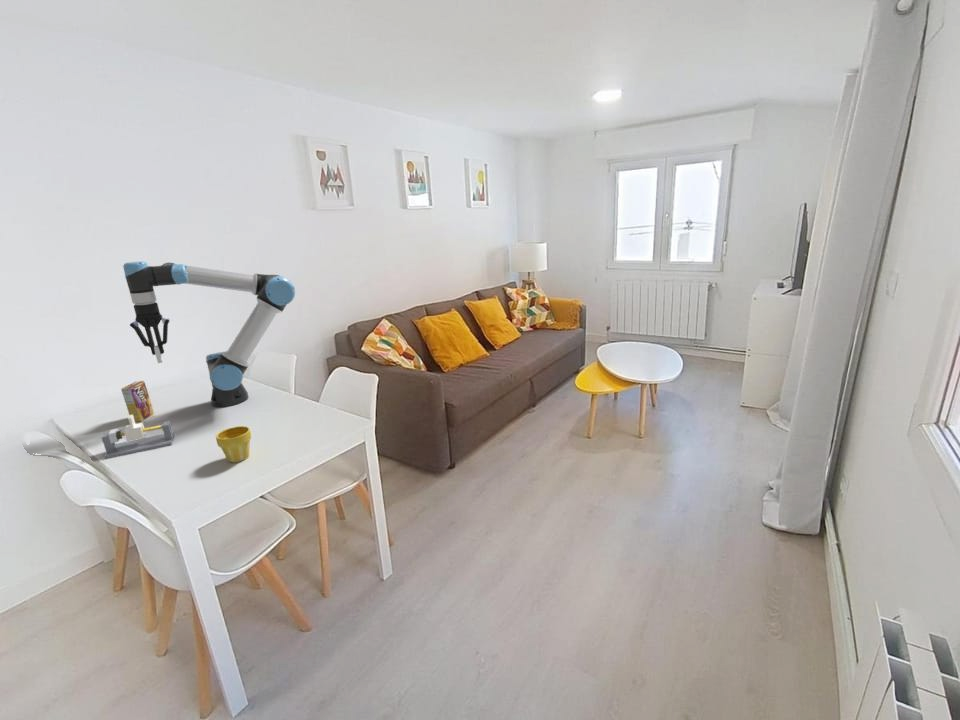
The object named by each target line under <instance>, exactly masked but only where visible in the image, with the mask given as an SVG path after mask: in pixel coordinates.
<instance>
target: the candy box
mask: <svg viewBox="0 0 960 720" xmlns="http://www.w3.org/2000/svg"><path fill="white" fill-rule="evenodd" d="M146 385H147V384H146V382H145V381H144V380H140V381H139V380H137V381H134V382H131V383H130V384H128V385H126V386H124V387H122V388H121V393H122V397H123V399H124V402H125V406H126V409H127V411H128V414H129V416H130V415H133V417H134V420H135V423H142V422H143V421H145V420H146V419H147V418H149V417H150V416H152V415H153V414H154V413H155V411H154V408H153V404H152V401H151V398H150V396H149V392H148V388H147V386H146Z"/></svg>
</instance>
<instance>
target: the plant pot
mask: <svg viewBox="0 0 960 720" xmlns="http://www.w3.org/2000/svg"><path fill="white" fill-rule="evenodd" d="M251 439H252V433H251V429H250V427H248V426H246V425H245V426H244V425H241V426H233V427H228V428H226V429H223V430H221V431H219V432H218V433H217V434H216V435H215V440H216V444H217V447H219V448H220V449H221V451H222V452H223V454H224V455H225V458H226V460H227V461H228V462H230V463H240V462H243V461H245V460H247V459H248V458H249V457H250V442H251Z"/></svg>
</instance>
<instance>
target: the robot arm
mask: <svg viewBox="0 0 960 720" xmlns="http://www.w3.org/2000/svg"><path fill="white" fill-rule="evenodd" d="M123 273H124V276H125V280H126V284H127V286H128V287H127V288H128V291H129V294H130V298H131V303H132V304H133V309H134V312H135V319H134V321H133V322H131V323H130V324H129V326H130V327H131V329H133V330H134V331H135V333H136V335H137V336H138V338H139V339H140V341H141V343H142V344H143V346H144V347H148V348H150V351H151V354H152V356H155V358H156V361H157V364H162V363H163V362H164V358H163V354H164V353H165V350H164V345H166V344H167V343H168V336H169V335H168V329H169V326H168V325H169V323H170V321H171V320H170V318H166V317H163V315H162V314H161V312H160V309H159V304H158V302H157V298H156V293H155V290H154V287H160V286H162V287H163V286H170V285H171V286H172V285H173V286H174V285H178V286H179V285H183V284H185V285H192V286H193V285H194V286H200V287H209V288H216V289H224V290H232V291H237V292H238V291H239V292H245V293H251V294H252V295H253V296H256V301H257V303H256V305H255V307H254V308H253V309H252V311H251V313H250V314H249V316H248V317H247V320H246V321H245V322H244V323H243V326H242V327H241V329H240V331H239V332H238V334H237V335H236V337H235V338H234V340H233V342H231V345H230V346H229V347H228V349H227V351H219V352H214V353H209V354H207V355H206V357H205V360H206V361H205V363H206V365H207V368H208V369H207V370H208V373H209V381H210V382H211V386H212V390H211V397H210V401H211V405H212V406H213V407H216V408H219V407H220V408H225V407H230V406H234V405H238V404H241V403H243V402H245V401H247V400H248V399H249V392H248V391H247V389H246V388H245V386H244V385H243V380H244V379H243V378H244V375H245V372H246V371H247V369H248V368H249V362H248V361H249V359H250V357H251V356H252V354H253V352H254V351H255V350H256V348H257V346H258V344H259V343H260V341H261V339H262V338H263V337H264V334H265V333H266V332H267V330H268V329H269V327H270V325H271V323H272V322H273V320H274V319H275V317H276V316H277V314H280V313H282V312H283V311H284V309H286V306H287V305H288V304H290V303H291V302H292V301H294V299H295V295H296V289H295V286H294V285H293V283H292V282H291V281H290V280H289V279H288V278H287V277H284V276H281V275H278V274H262V273H254V274H253V275H252V274H245V273H241V272H240V273H239V272H232V271H225V270H218V269H211V268H204V267H199V266H192V265H185V264H183V263H181V264H178V263H174V262H165V263H163V264H161V265H156V266H155V265H154V266H153V265H152V266H150V265H149V264H148V262H147V261H131V262H130V261H129V262H125V263H124V264H123ZM160 322H162V324H163V325H162V327H163V329H162V336H161V333H160V329H159V325H160ZM139 325H140V326H142V327H144V330H145V332H146V337H147V338H146V337H145V334H144V333H143V332H142V329H141V328H140V327H139ZM151 328H152V329H153V332H154V336H155V341H156V343H157V345H155V341H154V337H153V334H152V329H151Z"/></svg>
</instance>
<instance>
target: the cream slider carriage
mask: <svg viewBox="0 0 960 720" xmlns="http://www.w3.org/2000/svg"><path fill="white" fill-rule="evenodd" d="M127 419H128V423H129V424H128V425H126V426H125V428H124V429H123V432H124V433H125V439H126V442H128V441H133V440H138V439H143V438H145V436H146V432H147V431H146V432H143V431H142V429H144V428H145V425H144V422H138V423H136V422H135V420H134V417H133V415H129V416H128V418H127Z"/></svg>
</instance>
